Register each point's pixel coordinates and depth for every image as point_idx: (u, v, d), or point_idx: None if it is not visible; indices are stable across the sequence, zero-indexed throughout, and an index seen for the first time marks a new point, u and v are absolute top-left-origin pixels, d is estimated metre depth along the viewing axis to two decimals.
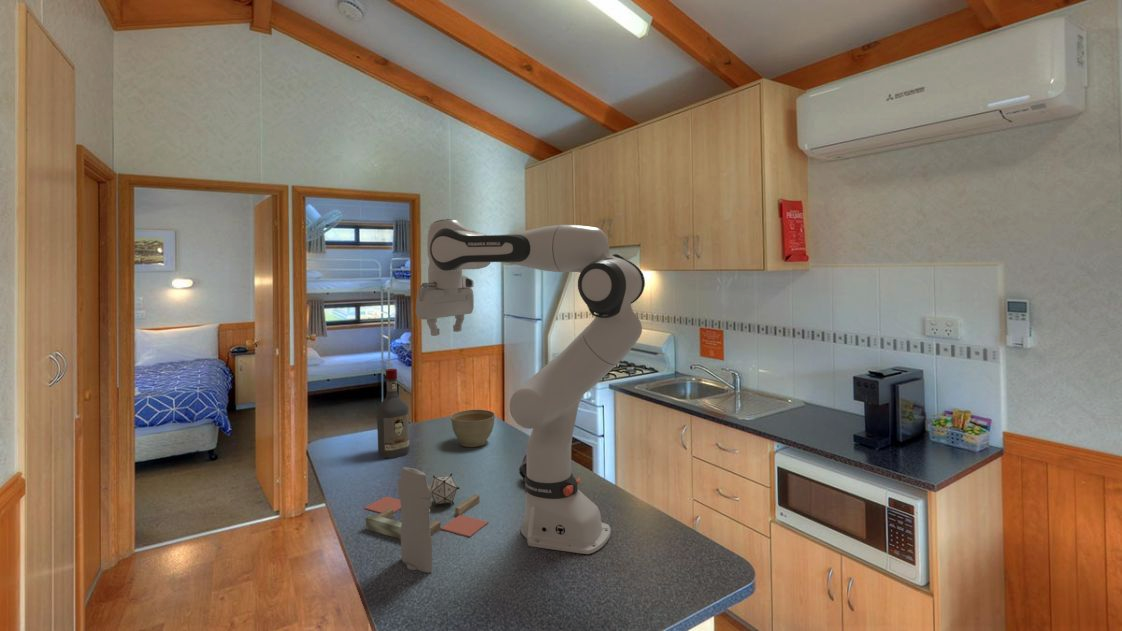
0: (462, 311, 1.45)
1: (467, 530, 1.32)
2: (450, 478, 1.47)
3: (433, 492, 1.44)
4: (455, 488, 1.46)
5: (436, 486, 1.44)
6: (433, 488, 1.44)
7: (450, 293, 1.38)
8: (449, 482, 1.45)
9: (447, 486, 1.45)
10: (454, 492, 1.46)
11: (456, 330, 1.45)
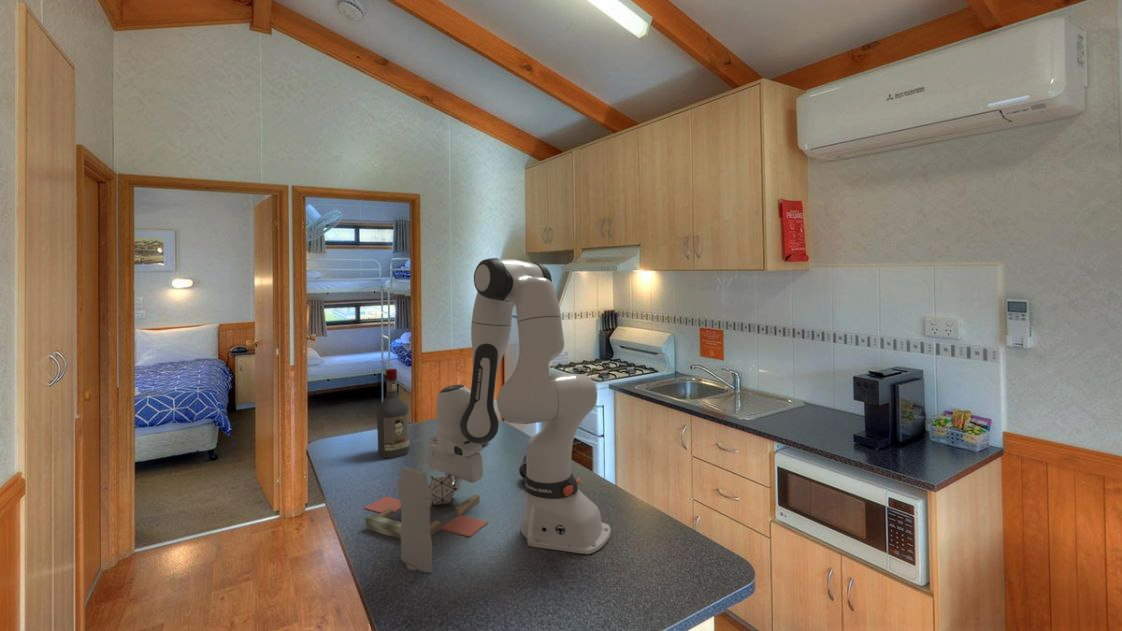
0: (460, 476, 1.46)
1: (467, 530, 1.32)
2: (448, 479, 1.47)
3: None
4: (453, 489, 1.45)
5: (433, 487, 1.44)
6: (431, 489, 1.44)
7: (442, 454, 1.49)
8: (446, 483, 1.45)
9: (445, 487, 1.44)
10: (452, 493, 1.45)
11: None
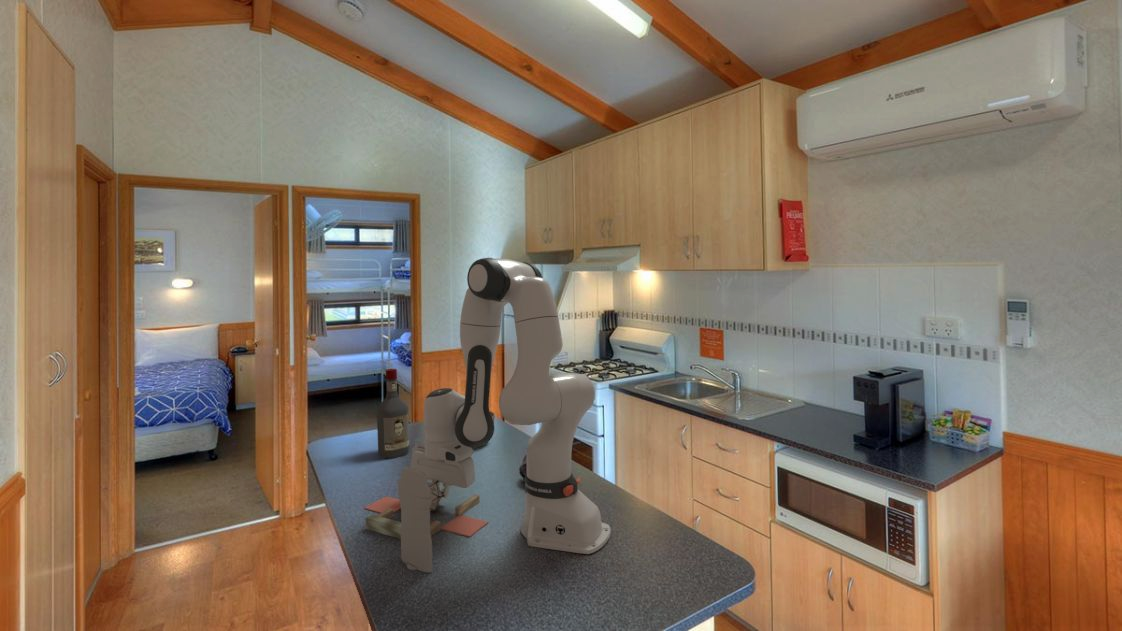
0: (451, 482, 1.42)
1: (467, 530, 1.32)
2: (434, 485, 1.43)
3: None
4: (436, 496, 1.40)
5: None
6: None
7: (430, 461, 1.44)
8: (431, 490, 1.41)
9: None
10: (435, 500, 1.40)
11: None
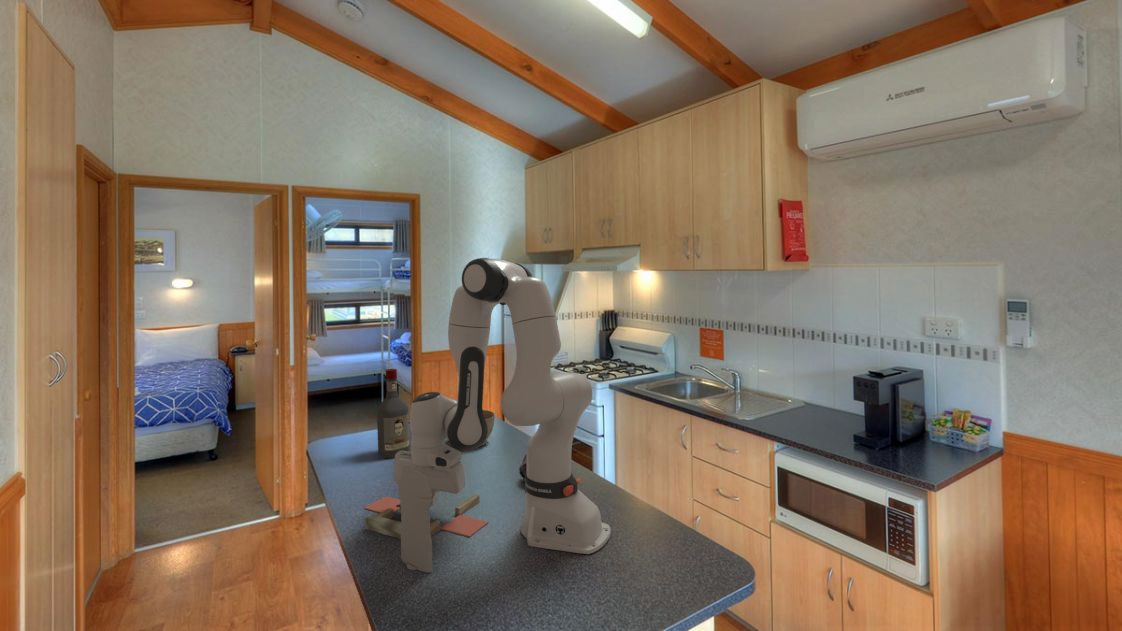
0: (440, 488, 1.38)
1: (467, 530, 1.32)
2: None
3: None
4: None
5: None
6: None
7: (417, 467, 1.39)
8: None
9: None
10: None
11: None
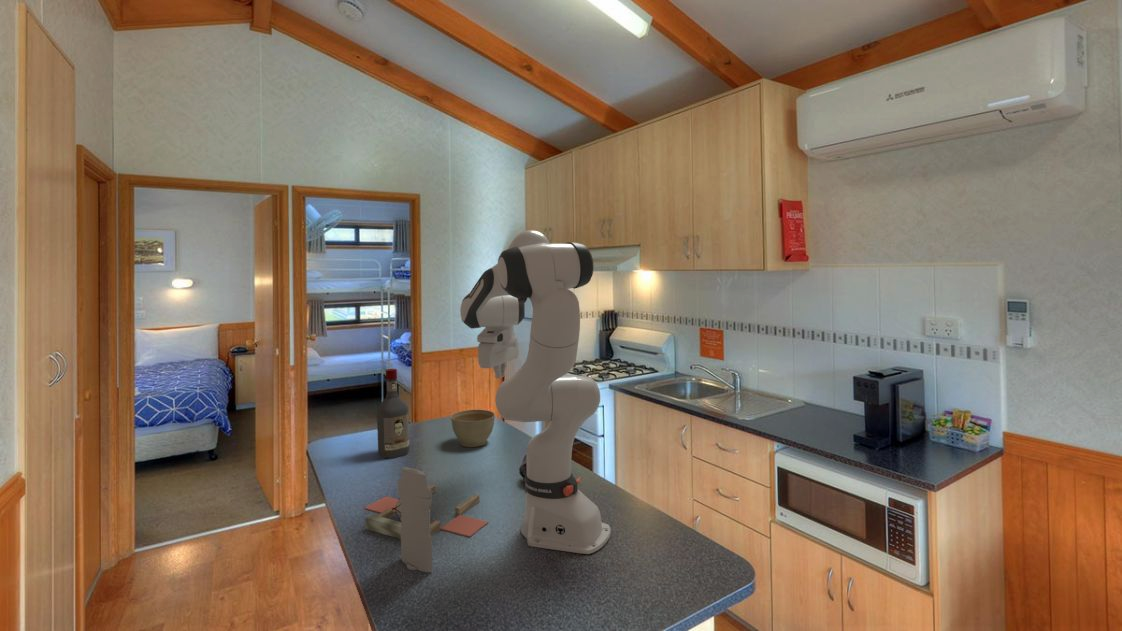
0: None
1: (467, 530, 1.32)
2: None
3: (396, 509, 1.34)
4: None
5: (400, 503, 1.34)
6: (397, 505, 1.34)
7: None
8: None
9: None
10: None
11: None
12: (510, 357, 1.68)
